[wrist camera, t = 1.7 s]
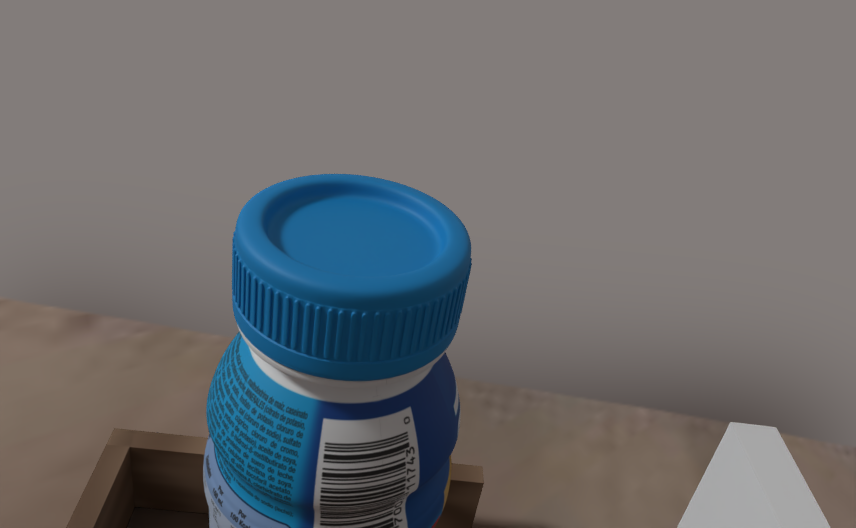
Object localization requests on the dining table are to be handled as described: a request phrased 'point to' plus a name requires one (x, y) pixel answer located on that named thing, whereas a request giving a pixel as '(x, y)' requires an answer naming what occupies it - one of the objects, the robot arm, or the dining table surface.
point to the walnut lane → (199, 482)
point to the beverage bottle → (338, 359)
